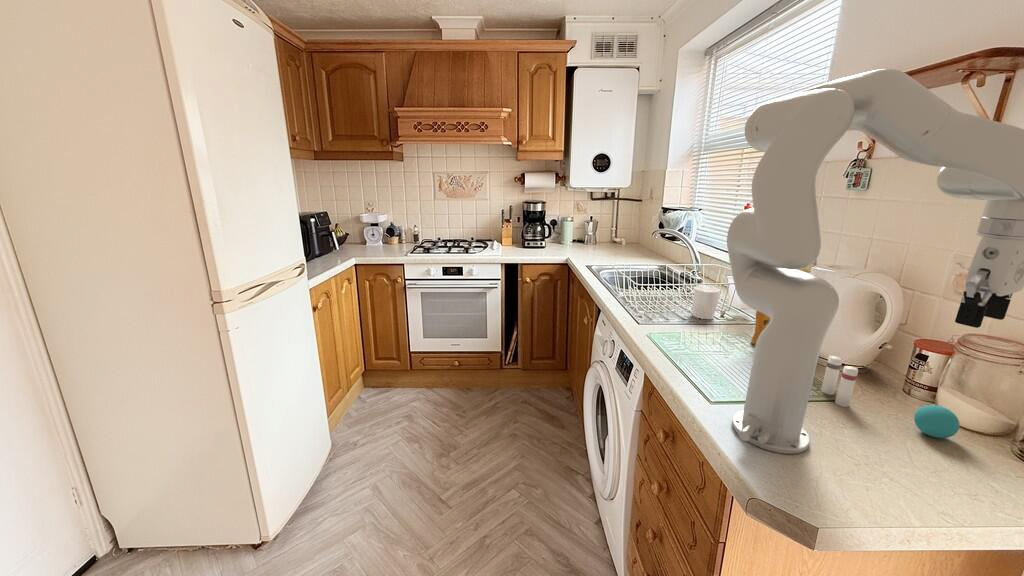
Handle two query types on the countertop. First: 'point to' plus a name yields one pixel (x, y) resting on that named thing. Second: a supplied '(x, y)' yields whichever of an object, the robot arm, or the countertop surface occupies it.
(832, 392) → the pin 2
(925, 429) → the teal egg
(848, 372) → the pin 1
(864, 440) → the countertop surface
